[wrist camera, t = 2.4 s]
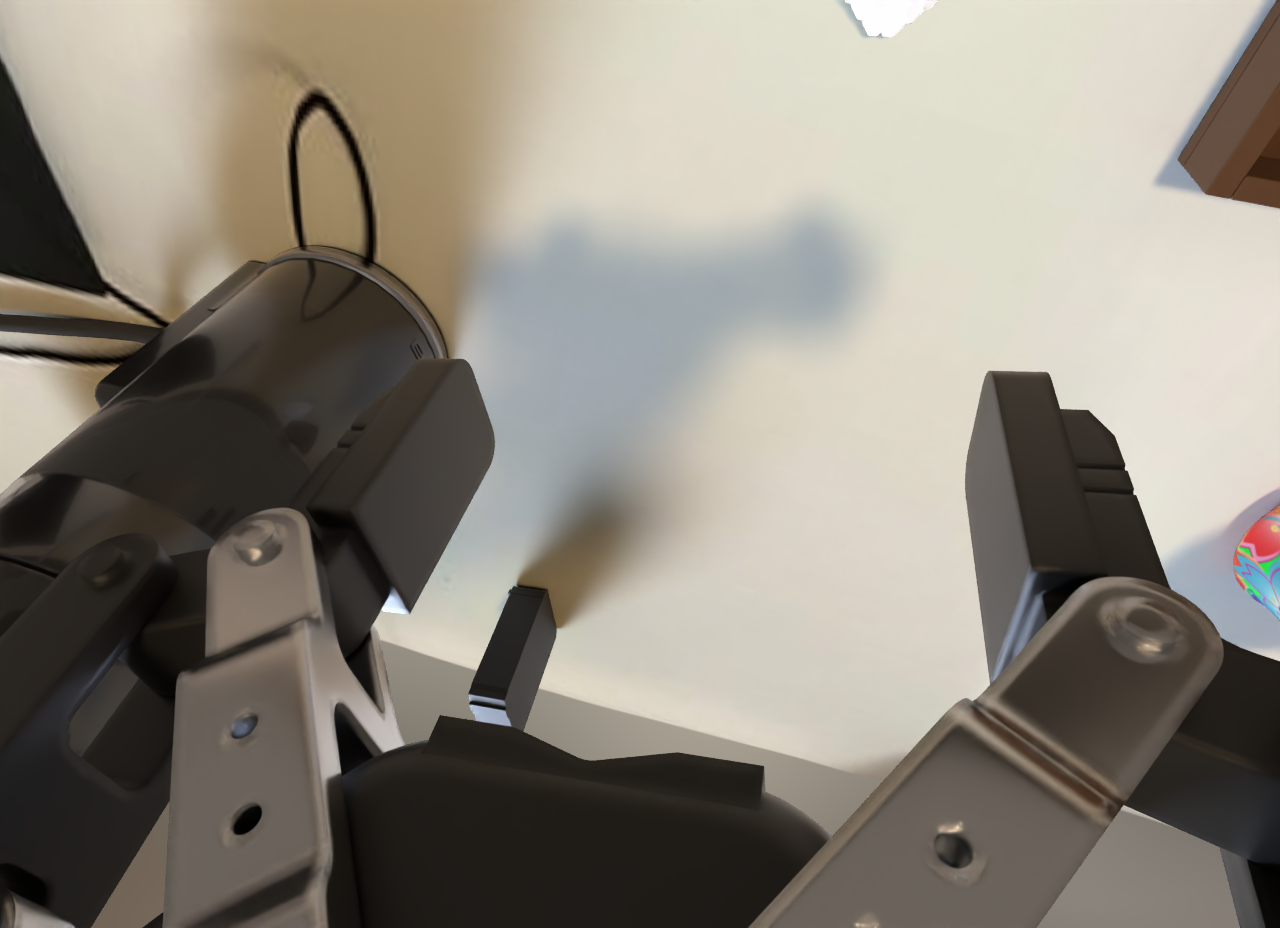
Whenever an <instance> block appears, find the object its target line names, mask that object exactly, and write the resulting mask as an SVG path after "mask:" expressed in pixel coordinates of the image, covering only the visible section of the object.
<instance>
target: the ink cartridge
mask: <svg viewBox="0 0 1280 928" xmlns="http://www.w3.org/2000/svg"><path fill="white" fill-rule="evenodd" d="M508 594H509V597H508V600H507V602H506V604H505V607H504V609H503V611H502V614H501V616H500V618H499V621H498V623H497V625H496V628H495V630H494V633H493V635H492V637H491V640H490V642H489V644H488V647H487V649H486V651H485V654H484V656H483V658H482V661H481V663H480V665H479V668H478V670H477V673H476V675H475V677H474V679H473V682H472V685H471V688H470V691H469V693H468V696H469V699H470V703H469V705H470V708H471V711H472V712H473V713H474V715H475V718H476V720H477V721H480V722H486V723H492V724H499V725H505V726H511V727H514V728H516V729H519V730H521V731H524V728H525V725H526V722H527V719H528V716H529V713H530V710H531V708H532V705H533V702H534V699H535V696H536V693H537V690H538V687H539V685H540V682H541V679H542V676H543V673H544V670H545V667H546V665H547V662H548V659H549V656H550V653H551V650H552V647H553V644H554V642H555V639H556V624H555V620H554V616H553V612H552V608H551V604H550V600H549V596H548V592H547V591H543V590H537V589H530V588H523V587H516V586H514V587H513V588H512V590H511V589H510V590H509V593H508Z"/></svg>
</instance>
